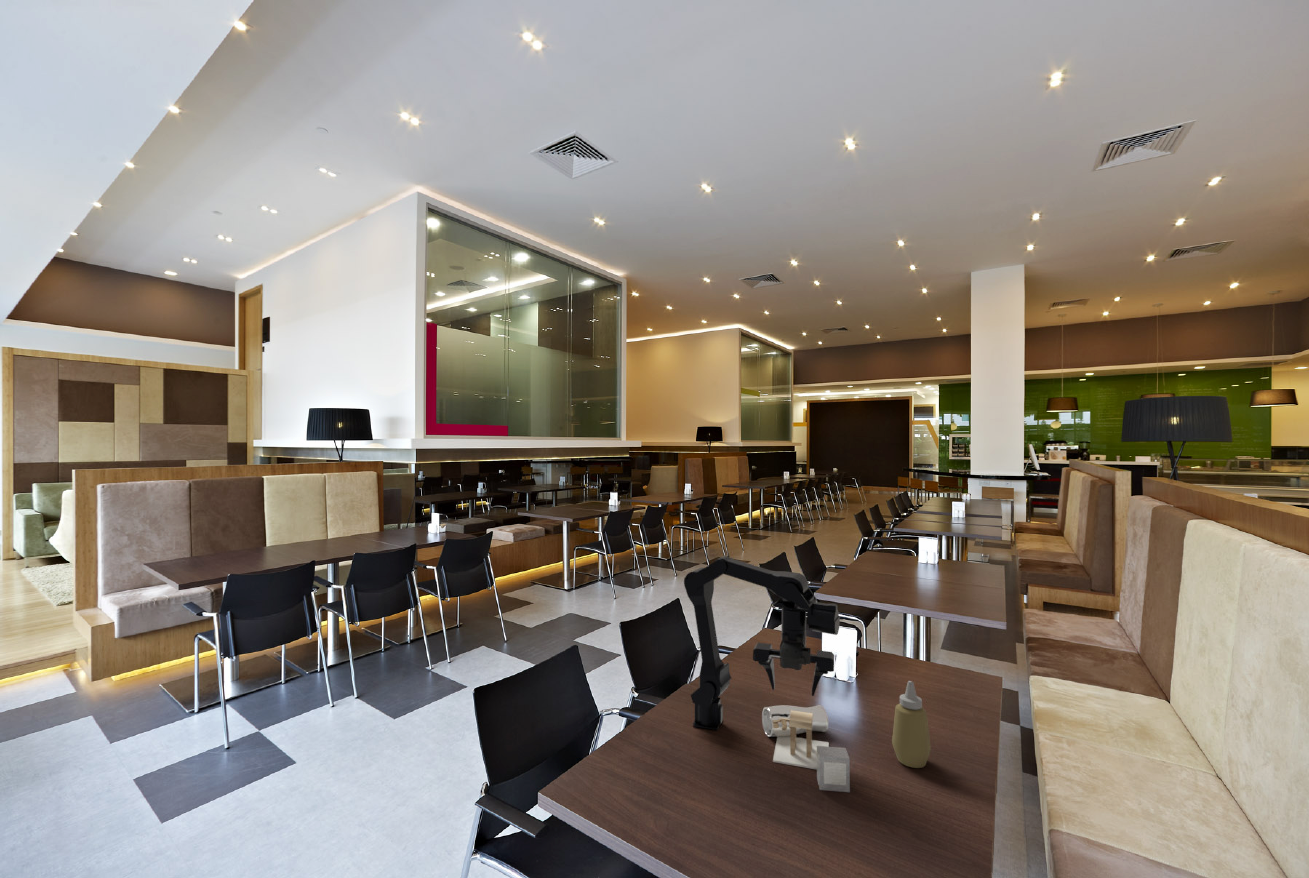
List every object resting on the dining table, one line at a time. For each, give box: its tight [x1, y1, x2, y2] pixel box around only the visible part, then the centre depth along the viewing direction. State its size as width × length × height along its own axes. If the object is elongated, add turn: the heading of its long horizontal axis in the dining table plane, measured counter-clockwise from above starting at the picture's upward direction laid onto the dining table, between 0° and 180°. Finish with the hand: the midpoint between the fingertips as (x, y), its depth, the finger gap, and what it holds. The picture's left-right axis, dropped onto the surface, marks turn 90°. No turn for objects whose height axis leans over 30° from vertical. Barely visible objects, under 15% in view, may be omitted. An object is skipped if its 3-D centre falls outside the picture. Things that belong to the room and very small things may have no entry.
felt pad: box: [772, 736, 830, 770], centre depth 129 cm, size 12×12×1 cm
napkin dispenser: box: [816, 746, 851, 793], centre depth 116 cm, size 6×4×7 cm
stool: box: [789, 710, 813, 758], centre depth 129 cm, size 5×5×8 cm
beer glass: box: [761, 704, 829, 738], centre depth 138 cm, size 7×7×15 cm
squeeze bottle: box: [891, 680, 932, 769], centre depth 126 cm, size 8×8×18 cm
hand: (792, 692), depth 133 cm, fingers open, 9 cm apart
